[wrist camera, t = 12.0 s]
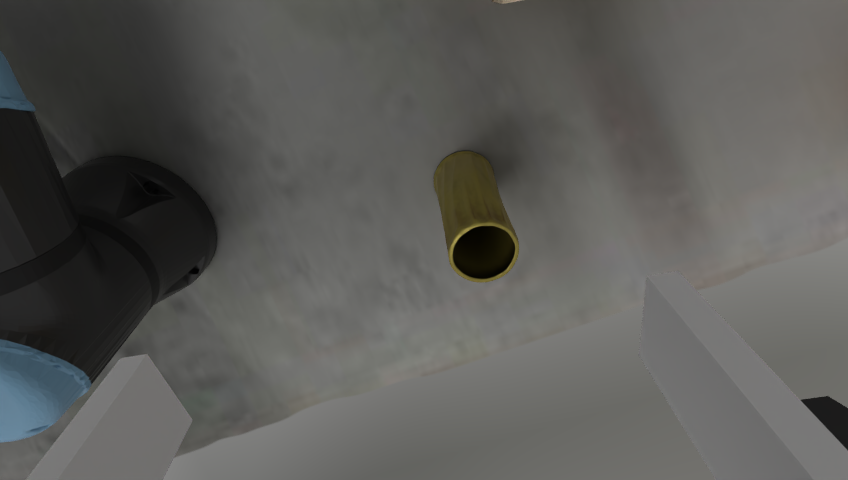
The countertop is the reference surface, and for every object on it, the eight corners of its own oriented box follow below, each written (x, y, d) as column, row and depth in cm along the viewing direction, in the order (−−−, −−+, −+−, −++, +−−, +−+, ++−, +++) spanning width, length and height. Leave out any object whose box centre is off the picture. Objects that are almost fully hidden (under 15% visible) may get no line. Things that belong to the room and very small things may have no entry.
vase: (496, 150, 43) (530, 216, 30) (491, 206, 46) (520, 287, 33) (434, 150, 43) (443, 217, 30) (433, 207, 46) (441, 288, 33)
